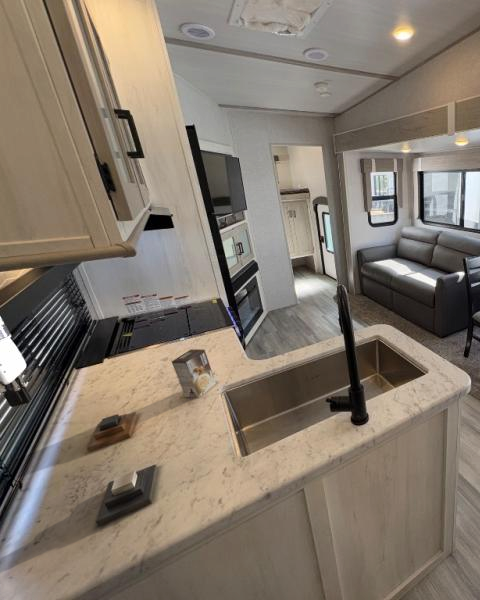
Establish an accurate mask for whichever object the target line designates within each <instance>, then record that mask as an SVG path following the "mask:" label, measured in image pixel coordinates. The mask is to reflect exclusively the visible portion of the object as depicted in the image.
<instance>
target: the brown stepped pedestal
mask: <svg viewBox="0 0 480 600" xmlns="http://www.w3.org/2000/svg"><path fill="white" fill-rule="evenodd" d="M119 417H120V421H119V424H118V426H115V427H112V428H109V429H105V430H102V431H101V429H100V427H99V425H100V423H101V421H99V423H97V424H96V427H95V429H94V431H93V432H92V433H93V434H92V435H91V437H90V439H89V441H88V443H87V446H86V450H87V451H88V453H91V452H92V451H95V450H98V449H101V448H104V447H107V446H110V445H112V444H117V443H118V442H122V441H124V440H127V439H130V438H131V437H132V434H133V432H134V428H135V425H136V422H137V419H138V414H137V411H134V412H131V413H124V414H122V415H119Z"/></svg>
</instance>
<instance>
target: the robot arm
mask: <svg viewBox="0 0 480 600" xmlns="http://www.w3.org/2000/svg"><path fill="white" fill-rule="evenodd" d="M11 338H12V334H11V333H10V330H9V329H8V327H7V326H6V323H5V322H4V319H3V318H2V317H1V316H0V395H2V396H3V397H4V399H5V400H6V402H7V404H8V406H9V407H10V408H15V407H19V406H22V405H26V404H30V402H31V401H32V399H33V398H32V397H33V396H32V395H31V393H30V392H29V390H28V389H27V387H26V383H25V380H24V378H23V374H24V372H25V370H26V368H27V362H26V360H25V358H24V356H23V354H22V353H21V351H20V350H19V348H18V347H17V345H16V344H15V343H14V341H13V340H12V339H11Z"/></svg>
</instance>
